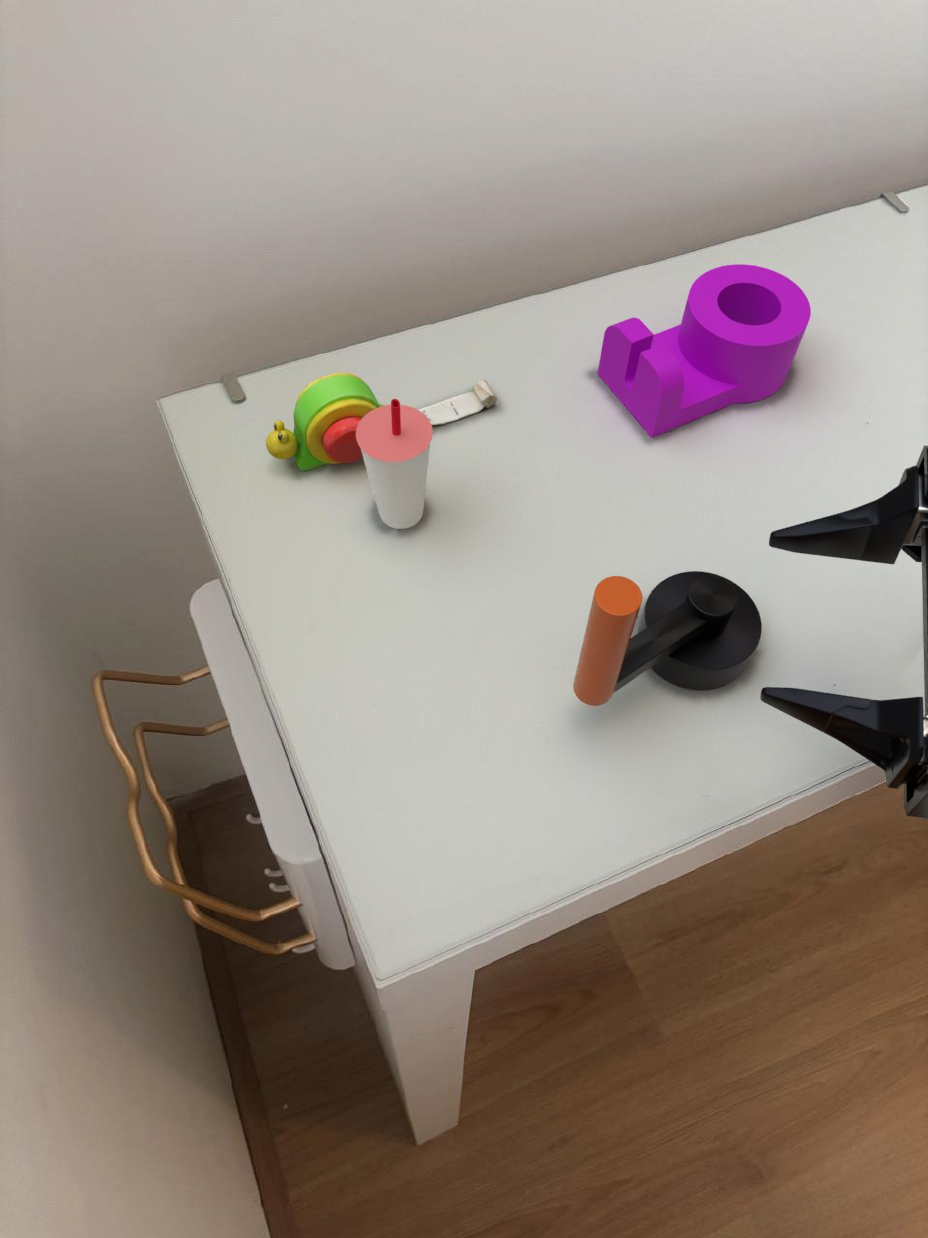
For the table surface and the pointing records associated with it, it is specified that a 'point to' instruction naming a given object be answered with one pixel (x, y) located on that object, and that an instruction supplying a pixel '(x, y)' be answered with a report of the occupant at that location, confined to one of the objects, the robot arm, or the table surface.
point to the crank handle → (642, 632)
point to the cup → (396, 461)
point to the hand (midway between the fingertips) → (765, 613)
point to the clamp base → (704, 637)
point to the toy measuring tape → (351, 419)
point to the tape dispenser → (708, 348)
